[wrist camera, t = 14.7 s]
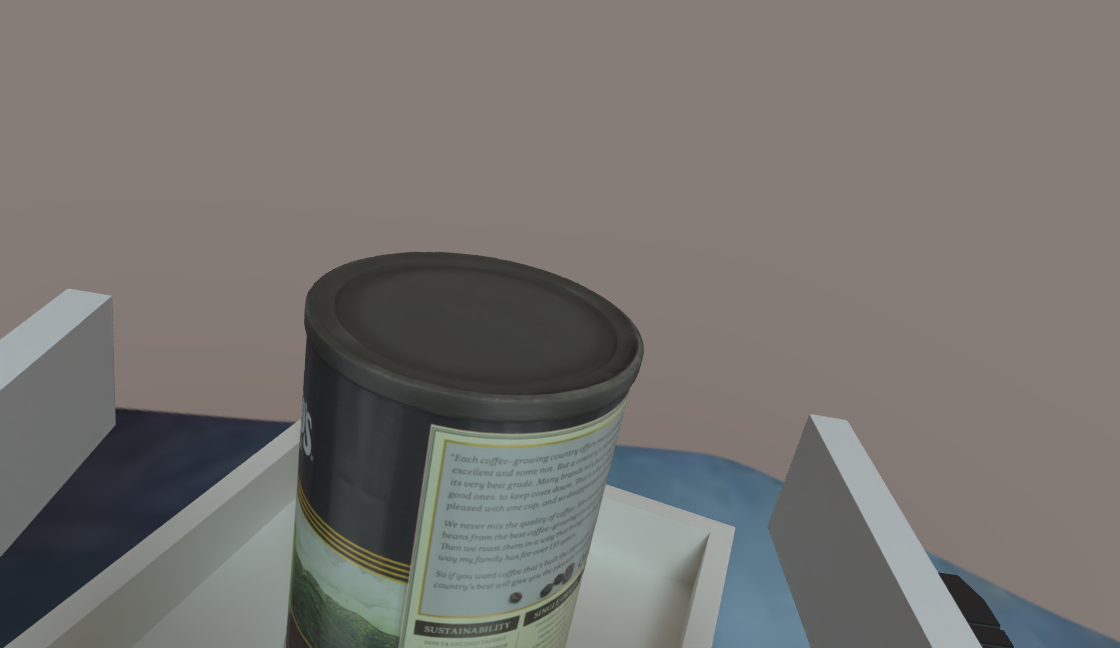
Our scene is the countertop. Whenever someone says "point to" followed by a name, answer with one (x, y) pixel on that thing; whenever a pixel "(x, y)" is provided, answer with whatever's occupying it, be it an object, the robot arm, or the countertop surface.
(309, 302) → the coffee can
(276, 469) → the box
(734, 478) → the countertop surface
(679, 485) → the countertop surface
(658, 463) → the countertop surface
